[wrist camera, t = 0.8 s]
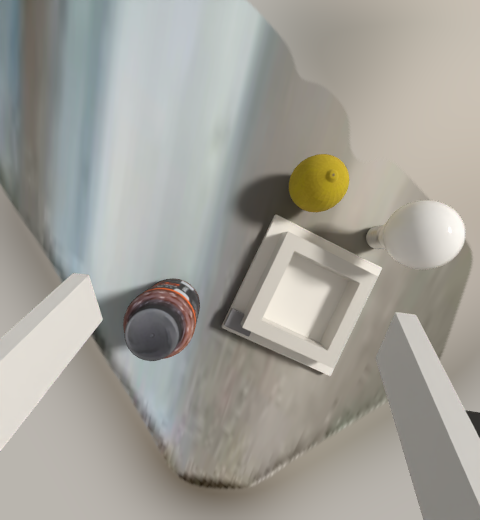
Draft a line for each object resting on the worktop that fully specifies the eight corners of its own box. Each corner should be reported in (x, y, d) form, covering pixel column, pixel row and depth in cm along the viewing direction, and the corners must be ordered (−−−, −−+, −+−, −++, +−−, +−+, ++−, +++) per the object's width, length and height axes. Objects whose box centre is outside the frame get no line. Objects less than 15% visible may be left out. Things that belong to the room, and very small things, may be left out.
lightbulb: (366, 274, 34) (438, 287, 23) (338, 230, 34) (399, 222, 23) (408, 244, 35) (498, 244, 24) (381, 200, 34) (461, 179, 23)
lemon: (301, 157, 33) (330, 129, 25) (337, 189, 34) (376, 171, 26) (271, 194, 33) (290, 178, 25) (307, 225, 33) (337, 219, 25)
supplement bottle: (184, 268, 32) (169, 280, 21) (209, 313, 33) (208, 349, 22) (136, 293, 32) (95, 319, 21) (162, 339, 32) (136, 389, 21)
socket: (274, 215, 33) (281, 211, 29) (377, 267, 34) (395, 269, 31) (221, 325, 33) (222, 334, 29) (326, 372, 34) (339, 386, 31)
